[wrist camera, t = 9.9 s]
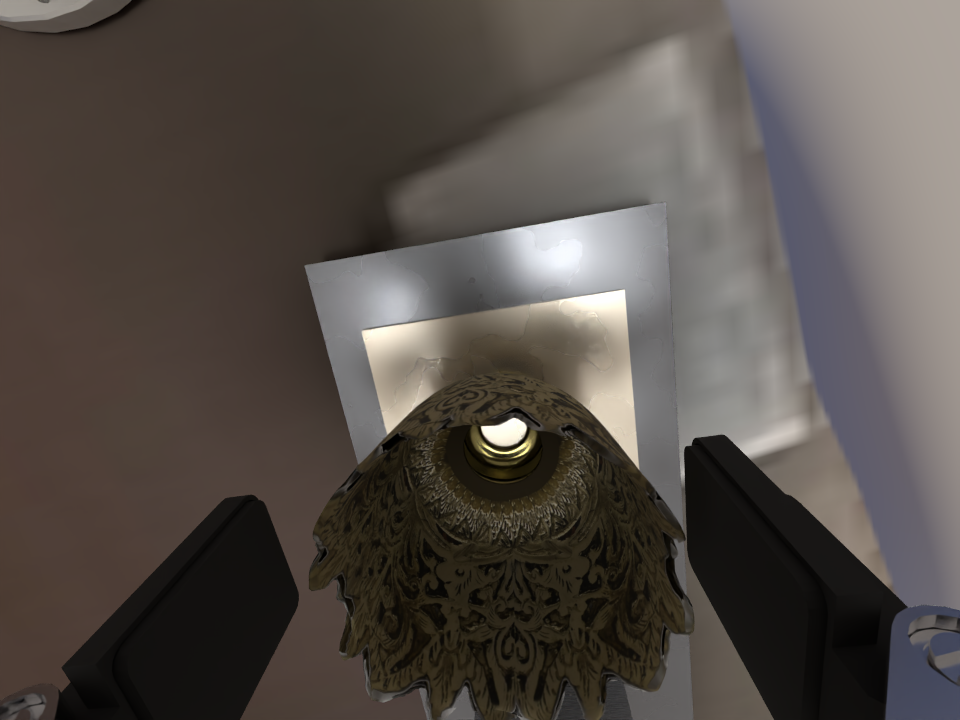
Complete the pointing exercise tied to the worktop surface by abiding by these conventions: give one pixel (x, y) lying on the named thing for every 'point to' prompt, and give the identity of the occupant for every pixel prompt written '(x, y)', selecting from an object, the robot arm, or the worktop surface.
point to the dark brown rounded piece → (503, 557)
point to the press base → (523, 357)
